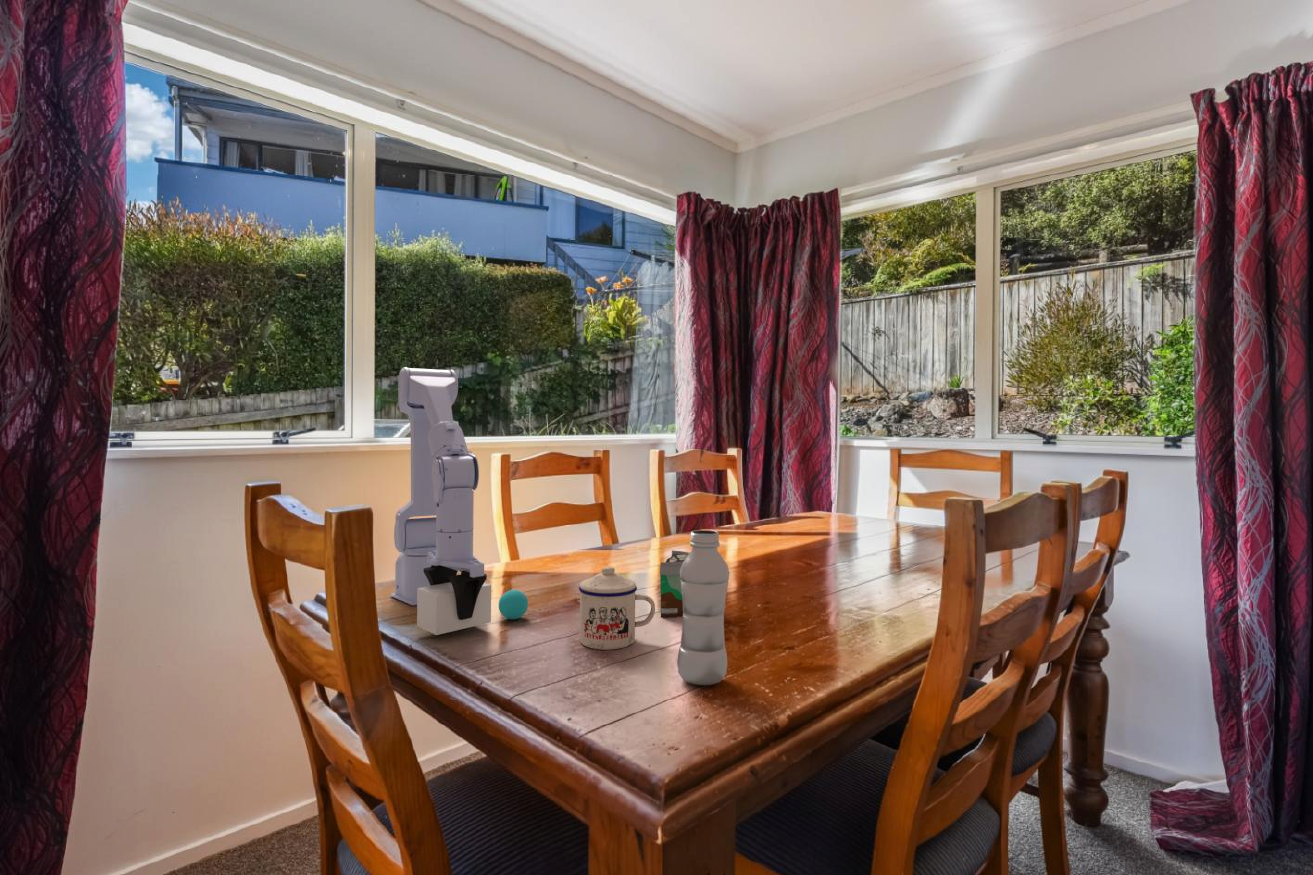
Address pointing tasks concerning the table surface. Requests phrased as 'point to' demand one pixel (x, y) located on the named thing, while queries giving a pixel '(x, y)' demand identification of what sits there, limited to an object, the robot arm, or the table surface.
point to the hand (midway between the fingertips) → (454, 614)
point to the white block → (449, 609)
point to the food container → (672, 585)
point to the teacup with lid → (609, 611)
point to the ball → (513, 604)
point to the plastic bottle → (703, 611)
